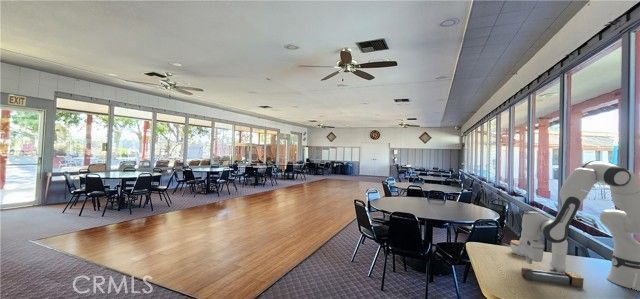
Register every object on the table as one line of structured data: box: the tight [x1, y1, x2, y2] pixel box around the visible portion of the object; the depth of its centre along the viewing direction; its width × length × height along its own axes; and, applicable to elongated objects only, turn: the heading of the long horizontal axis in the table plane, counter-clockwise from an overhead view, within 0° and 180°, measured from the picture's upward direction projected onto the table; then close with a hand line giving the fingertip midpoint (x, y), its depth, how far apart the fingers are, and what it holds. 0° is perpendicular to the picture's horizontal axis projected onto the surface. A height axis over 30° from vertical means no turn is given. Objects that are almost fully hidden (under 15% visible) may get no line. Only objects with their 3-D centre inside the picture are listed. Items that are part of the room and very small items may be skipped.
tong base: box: [523, 270, 585, 289], centre depth 154 cm, size 26×7×5 cm, turn 78°
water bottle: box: [550, 239, 569, 273], centre depth 168 cm, size 7×7×25 cm
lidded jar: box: [510, 239, 526, 257], centre depth 192 cm, size 11×11×9 cm
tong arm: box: [521, 267, 567, 278], centre depth 156 cm, size 21×3×4 cm, turn 78°
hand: (529, 263), depth 165 cm, fingers closed
